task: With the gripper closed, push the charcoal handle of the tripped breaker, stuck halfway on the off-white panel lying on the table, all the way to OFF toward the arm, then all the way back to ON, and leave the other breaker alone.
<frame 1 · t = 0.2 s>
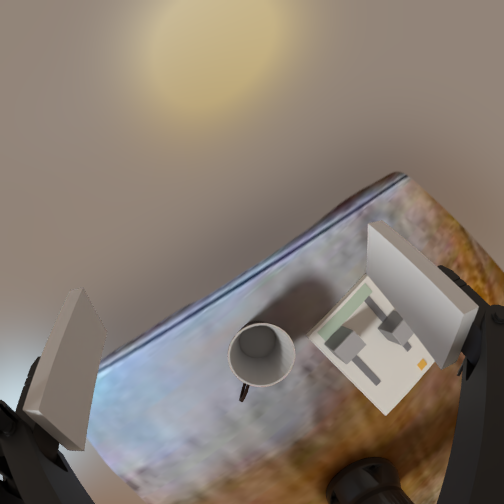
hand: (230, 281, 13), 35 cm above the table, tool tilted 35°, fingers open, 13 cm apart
tripped breaker: (398, 327, 43), point 5 cm above the table, slide at 5.0 cm
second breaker: (344, 344, 43), point 5 cm above the table, slide at 10.0 cm
coffee mug: (250, 347, 48), on the table
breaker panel: (375, 348, 48), on the table
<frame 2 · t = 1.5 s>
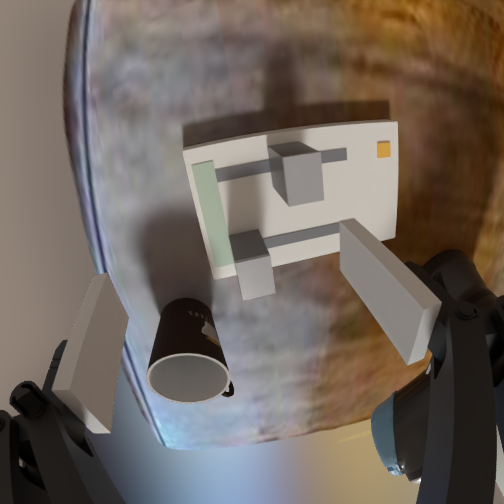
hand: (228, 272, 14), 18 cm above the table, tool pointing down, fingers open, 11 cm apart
tripped breaker: (294, 171, 25), point 5 cm above the table, slide at 5.0 cm
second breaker: (251, 263, 29), point 5 cm above the table, slide at 10.0 cm
coffee mug: (190, 325, 38), on the table
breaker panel: (301, 192, 32), on the table
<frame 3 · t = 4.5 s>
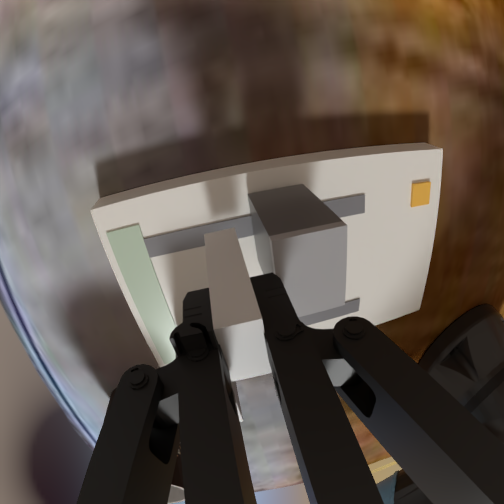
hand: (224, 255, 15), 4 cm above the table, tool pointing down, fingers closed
tripped breaker: (293, 245, 15), point 5 cm above the table, slide at 4.0 cm, touching gripper
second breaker: (208, 375, 18), point 5 cm above the table, slide at 10.0 cm
coffee mug: (147, 408, 27), on the table
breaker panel: (290, 258, 21), on the table
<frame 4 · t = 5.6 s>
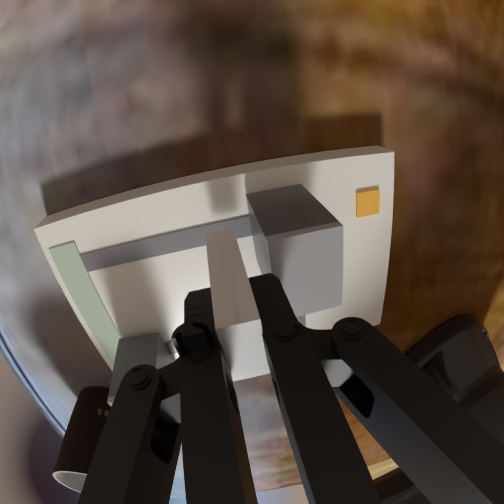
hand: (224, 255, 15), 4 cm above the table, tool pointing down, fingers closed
tripped breaker: (291, 245, 15), point 5 cm above the table, slide at -0.2 cm, touching gripper
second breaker: (146, 384, 18), point 5 cm above the table, slide at 10.0 cm
coffee mug: (114, 409, 27), on the table
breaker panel: (229, 271, 21), on the table
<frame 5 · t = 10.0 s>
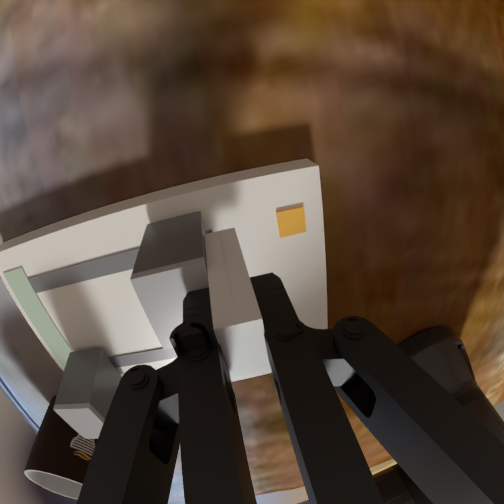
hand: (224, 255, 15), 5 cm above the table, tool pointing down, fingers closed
tripped breaker: (182, 275, 15), point 5 cm above the table, slide at 0.3 cm, touching gripper
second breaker: (91, 394, 18), point 5 cm above the table, slide at 10.0 cm
coffee mug: (84, 416, 27), on the table
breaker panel: (163, 291, 21), on the table
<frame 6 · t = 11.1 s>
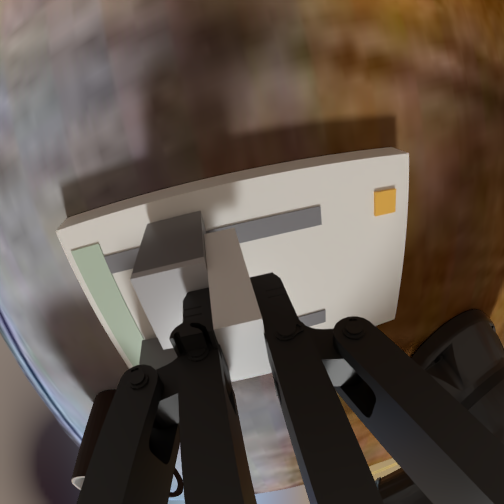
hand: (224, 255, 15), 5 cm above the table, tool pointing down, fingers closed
tripped breaker: (182, 275, 15), point 5 cm above the table, slide at 6.7 cm, touching gripper
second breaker: (171, 384, 18), point 5 cm above the table, slide at 10.0 cm
coffee mug: (130, 412, 28), on the table
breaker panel: (251, 270, 21), on the table
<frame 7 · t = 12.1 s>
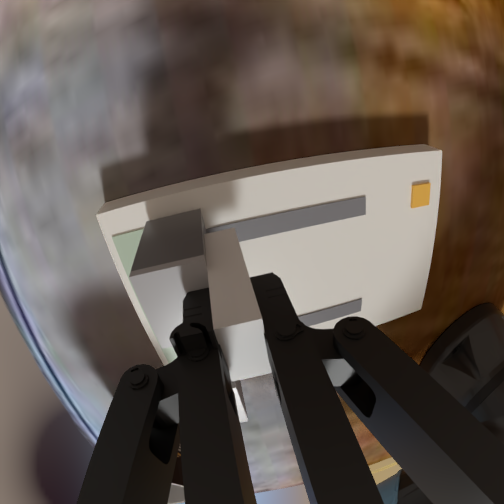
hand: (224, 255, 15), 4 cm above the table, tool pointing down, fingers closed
tripped breaker: (181, 273, 14), point 5 cm above the table, slide at 9.7 cm, touching gripper
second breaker: (213, 376, 18), point 5 cm above the table, slide at 10.0 cm
coffee mug: (153, 409, 28), on the table
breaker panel: (293, 260, 21), on the table
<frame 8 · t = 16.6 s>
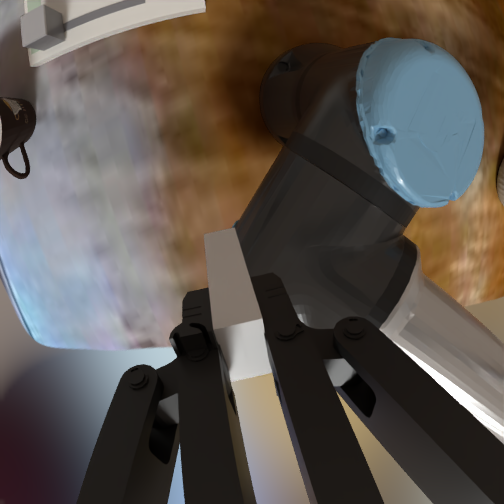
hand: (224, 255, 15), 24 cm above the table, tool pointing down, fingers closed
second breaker: (43, 28, 20), point 5 cm above the table, slide at 10.0 cm
coffee mug: (20, 132, 29), on the table
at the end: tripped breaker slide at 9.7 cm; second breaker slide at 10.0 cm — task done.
